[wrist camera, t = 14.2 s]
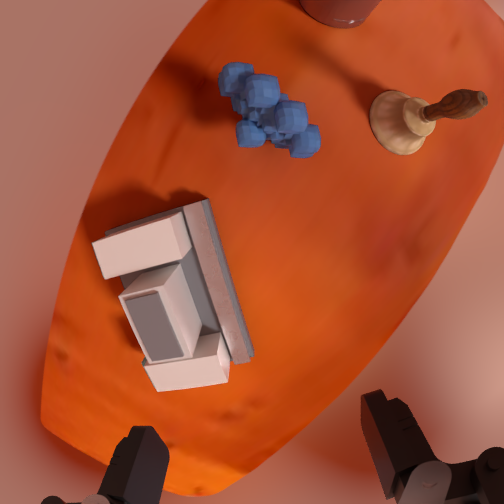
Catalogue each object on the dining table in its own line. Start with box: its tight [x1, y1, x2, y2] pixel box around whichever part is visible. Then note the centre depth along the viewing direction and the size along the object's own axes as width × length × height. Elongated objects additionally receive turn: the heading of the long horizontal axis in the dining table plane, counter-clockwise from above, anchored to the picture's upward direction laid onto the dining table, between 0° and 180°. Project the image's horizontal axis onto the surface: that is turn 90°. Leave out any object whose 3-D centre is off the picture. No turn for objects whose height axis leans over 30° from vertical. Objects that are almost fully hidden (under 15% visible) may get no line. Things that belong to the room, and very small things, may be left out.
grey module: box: [118, 263, 202, 364], centre depth 30 cm, size 8×5×7 cm, turn 15°
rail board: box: [92, 198, 254, 392], centre depth 32 cm, size 20×13×6 cm, turn 15°
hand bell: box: [370, 89, 488, 155], centre depth 22 cm, size 8×8×16 cm
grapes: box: [218, 62, 321, 158], centre depth 24 cm, size 12×7×12 cm, turn 49°
